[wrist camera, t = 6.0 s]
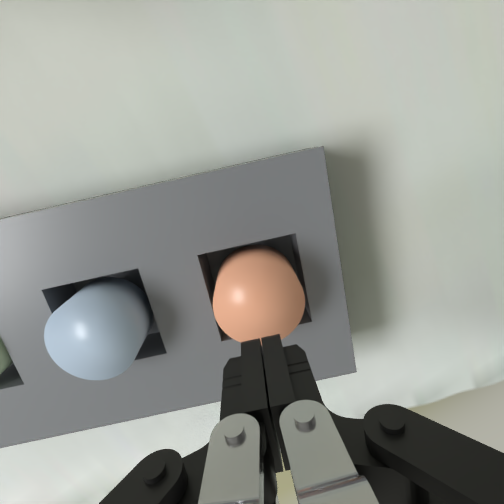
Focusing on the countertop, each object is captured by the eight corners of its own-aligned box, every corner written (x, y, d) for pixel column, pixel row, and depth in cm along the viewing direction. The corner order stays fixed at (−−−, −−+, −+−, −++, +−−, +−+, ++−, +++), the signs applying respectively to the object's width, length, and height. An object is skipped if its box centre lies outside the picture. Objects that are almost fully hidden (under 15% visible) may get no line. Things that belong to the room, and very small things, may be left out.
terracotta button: (286, 236, 19) (296, 251, 16) (300, 308, 20) (311, 335, 17) (207, 254, 19) (202, 272, 16) (226, 324, 20) (225, 353, 17)
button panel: (307, 148, 20) (323, 146, 16) (337, 338, 24) (356, 372, 20) (-114, 244, 21) (-194, 263, 17) (-17, 414, 25) (-64, 461, 21)
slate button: (139, 269, 19) (120, 290, 16) (163, 338, 20) (149, 369, 17) (62, 286, 19) (29, 310, 16) (90, 354, 21) (64, 388, 18)
